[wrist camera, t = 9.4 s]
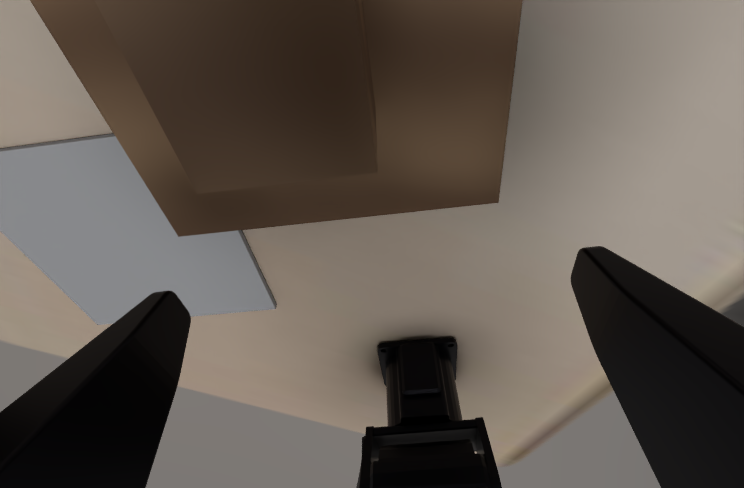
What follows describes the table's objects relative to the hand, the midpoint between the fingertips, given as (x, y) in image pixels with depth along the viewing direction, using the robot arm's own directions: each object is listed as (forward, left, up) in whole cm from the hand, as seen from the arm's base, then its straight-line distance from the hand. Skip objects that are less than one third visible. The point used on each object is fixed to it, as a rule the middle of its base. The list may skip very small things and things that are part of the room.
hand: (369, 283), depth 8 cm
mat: (-7, +16, -12) cm, 21 cm away
